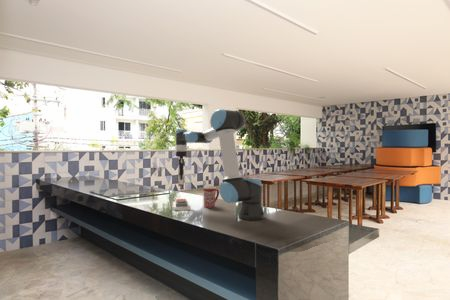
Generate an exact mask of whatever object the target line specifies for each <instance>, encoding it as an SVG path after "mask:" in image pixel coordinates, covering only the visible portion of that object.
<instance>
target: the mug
mask: <svg viewBox="0 0 450 300" xmlns="http://www.w3.org/2000/svg"><path fill="white" fill-rule="evenodd" d="M202 189H203V205H204V208H208V209H211V208H215V206H216V202H217V200H218V198H219V195H220V189H217V187H215V186H204V187H203V188H202Z"/></svg>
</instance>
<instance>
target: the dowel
mask: <svg viewBox="0 0 450 300" xmlns="http://www.w3.org/2000/svg"><path fill="white" fill-rule="evenodd" d="M184 169H185V168H183V184H179V175H177V176H178V180H177V181H178V184H177V185H178V187H184V186H185V179H184V178H185V174H184V173H185V170H184ZM177 170H178V174H179V173H180V169H179V168H178V169H177Z"/></svg>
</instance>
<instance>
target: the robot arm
mask: <svg viewBox="0 0 450 300" xmlns="http://www.w3.org/2000/svg"><path fill="white" fill-rule="evenodd" d="M209 122H210V127H211V128H208V129H207V130H204V131H203V132H201V131H187V129H184V128H183V129H182V128H181V129H179V128H178V129H176V130H175V131H176V132H175V146H174V148H175V150H176V151H175V157H177V158H178V161H177V162H178V166H179V168H178V169H180V173H179V174H178V175H179V184H183V169H184V165H185V158H184V157H187V155H188V154H187V151H188V148H187V147H188V145H187V144H188V143H189V144H191V143H193V144H194V143H195V144H197V143H198V144H211V143H212V142H213V140H215V139H219V147H220V153H221V160H222V161H221V162H222V166H223V167H222V168H223V173H224V177H223V178H222V183H221V184H220V186H219V195H220V197H221V199H222V200H223V201H224V202H225V203H228V204H230V203H231V204H235V203H239V202H241V205H240V209H239V213H238V218H239V219H241V220H246V221H260V220H264V219H265V212H264V208H263V206H262V192H263V191H262V188H263V186H262V181H261V180H260V179H257V178H247V177H243V176H242V175H240V169H239V162H238V156H237V148H236V142H235V135H234V134H235V132H238V131H240V130H242V129H243V128H244V127H245V123H246V118H245V116H244V115H243V113H242V112H241V111H238V110H229V109H223V108H222V109H216V110H215V111H213V112H212V114H211V116H210V121H209ZM178 175H177V176H178Z"/></svg>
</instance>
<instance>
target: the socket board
mask: <svg viewBox="0 0 450 300" xmlns="http://www.w3.org/2000/svg"><path fill="white" fill-rule="evenodd" d="M172 207H173V208H172V209H173V211H191V204H190V202H189V200H187V198H176V199H175V201H172Z"/></svg>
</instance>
